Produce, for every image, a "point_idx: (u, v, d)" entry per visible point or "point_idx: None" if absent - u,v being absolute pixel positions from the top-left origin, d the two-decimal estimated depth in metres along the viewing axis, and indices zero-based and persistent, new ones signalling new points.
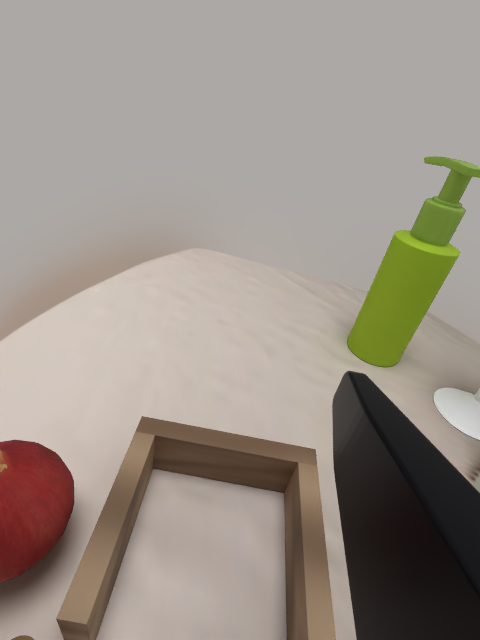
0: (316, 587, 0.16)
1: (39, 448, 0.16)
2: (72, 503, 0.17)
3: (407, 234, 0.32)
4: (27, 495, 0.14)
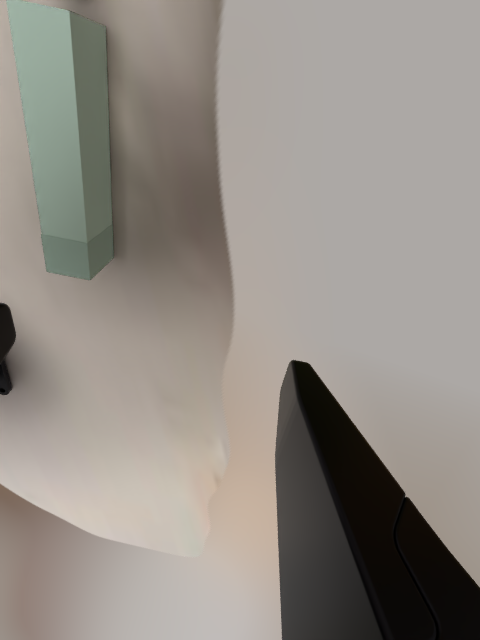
0: None
1: None
2: None
3: None
4: None
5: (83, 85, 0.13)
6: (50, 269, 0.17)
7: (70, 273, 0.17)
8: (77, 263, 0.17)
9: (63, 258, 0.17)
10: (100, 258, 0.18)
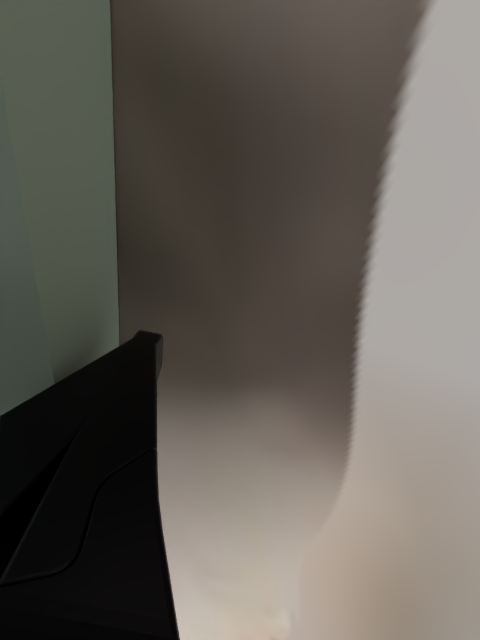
0: None
1: None
2: None
3: None
4: None
5: (39, 97, 0.04)
6: None
7: None
8: None
9: None
10: None
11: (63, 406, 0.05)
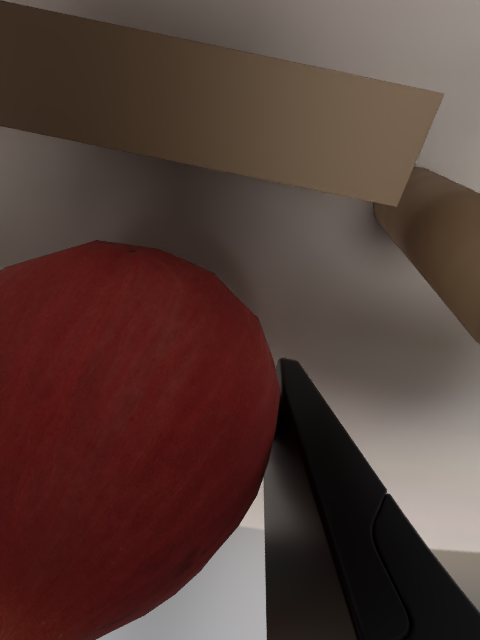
0: None
1: None
2: (71, 255, 0.05)
3: None
4: (68, 475, 0.03)
5: None
6: None
7: None
8: None
9: None
10: None
11: None
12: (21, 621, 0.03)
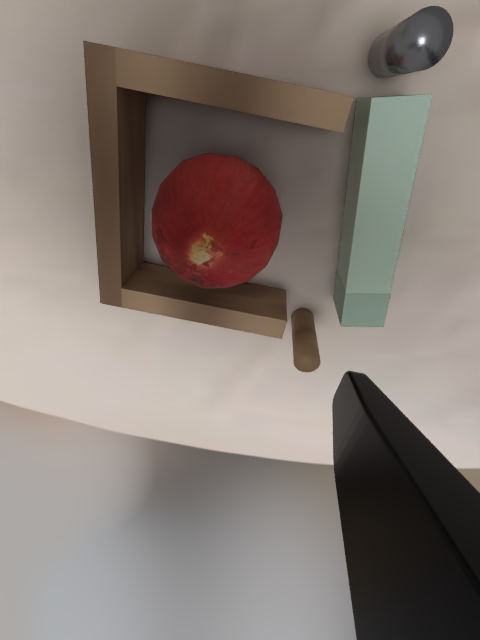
0: (280, 103, 0.13)
1: (165, 209, 0.13)
2: (210, 154, 0.14)
3: None
4: (226, 201, 0.13)
5: None
6: (345, 323, 0.19)
7: (363, 323, 0.18)
8: (374, 313, 0.18)
9: (361, 311, 0.18)
10: None
11: None
12: (215, 236, 0.12)
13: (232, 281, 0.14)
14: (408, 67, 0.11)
